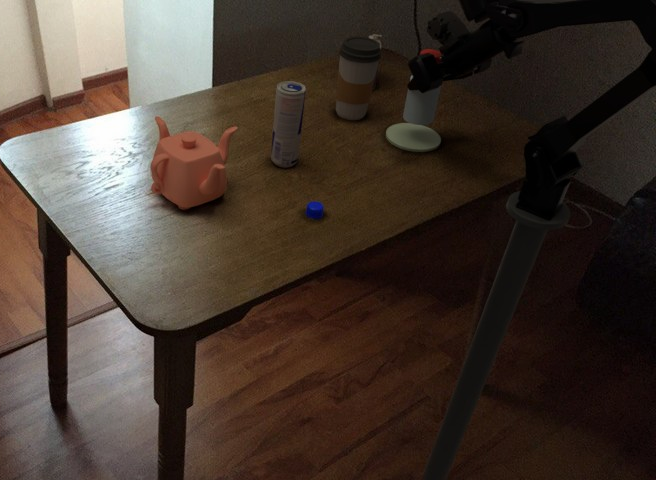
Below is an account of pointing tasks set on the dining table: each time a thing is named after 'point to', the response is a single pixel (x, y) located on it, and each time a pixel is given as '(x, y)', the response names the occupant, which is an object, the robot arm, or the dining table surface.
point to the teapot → (189, 166)
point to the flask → (376, 37)
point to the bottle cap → (314, 210)
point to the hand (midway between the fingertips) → (419, 83)
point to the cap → (434, 52)
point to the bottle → (421, 106)
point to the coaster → (413, 137)
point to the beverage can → (287, 123)
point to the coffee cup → (356, 76)
